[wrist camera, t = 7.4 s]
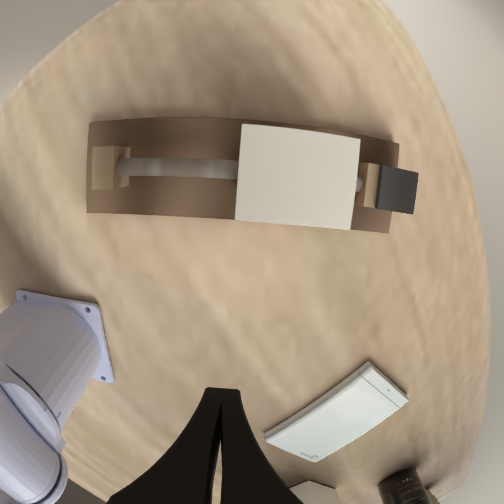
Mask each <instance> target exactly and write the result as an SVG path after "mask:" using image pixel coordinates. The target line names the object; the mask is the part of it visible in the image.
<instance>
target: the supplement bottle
mask: <svg viewBox="0 0 504 504" xmlns="http://www.w3.org/2000/svg"><path fill="white" fill-rule="evenodd" d="M378 490H379V493H380V496H381V499H382V502H383V504H432V503H431V501H430V498H429V496H428V494H427V492H426V490H425V488H424V485H423V483H422V481H421V479H420V477H419V475H418V473H417V471H416V470H415V469H405V470H402V471H400V472H397V473H395V474H393V475H391V476H390V477H388V478H386V479H385V480H384V481H383V482H382V483H381V484H380V485H379V487H378Z"/></svg>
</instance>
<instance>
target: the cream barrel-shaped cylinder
mask: <svg viewBox="0 0 504 504" xmlns="http://www.w3.org/2000/svg"><path fill="white" fill-rule="evenodd" d="M426 492H427V494H428V496H429V498H430V501H431V503H432V504H440V503H439V502H438V500H437V498H436V497H435V496H434V495H432V493H430V491H428V490H426Z"/></svg>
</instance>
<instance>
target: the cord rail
mask: <svg viewBox="0 0 504 504" xmlns="http://www.w3.org/2000/svg"><path fill="white" fill-rule="evenodd" d="M242 124H252V125H264V126H274V127H284V128H293V129H301V130H308V131H315V132H322V133H328V134H334V135H340V136H346V137H351V138H357V139H360V151H359V162H358V172H357V182H356V190H355V198H354V206H353V213H352V221H351V227H350V229H352V230H362V231H372V232H381V233H388V232H389V227H390V221H391V214H392V211H394V212H401V213H407V214H413V211H414V205H415V198H416V190H417V182H418V173H417V172H412V171H408V170H403V169H399V168H397V167H398V156H399V144H398V143H394V142H390V141H386V140H381V139H377V138H372V137H367V136H363V135H358V134H353V133H347V132H342V131H336V130H330V129H324V128H317V127H311V126H303V125H296V124H287V123H278V122H268V121H257V120H244V119H226V118H190V117H177V118H142V119H125V120H112V121H101V122H92V123H89V135H88V151H87V213H113V214H140V215H163V216H183V217H200V218H217V219H232V220H235V210H236V195H237V182H238V168H239V155H240V142H241V130H242Z"/></svg>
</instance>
